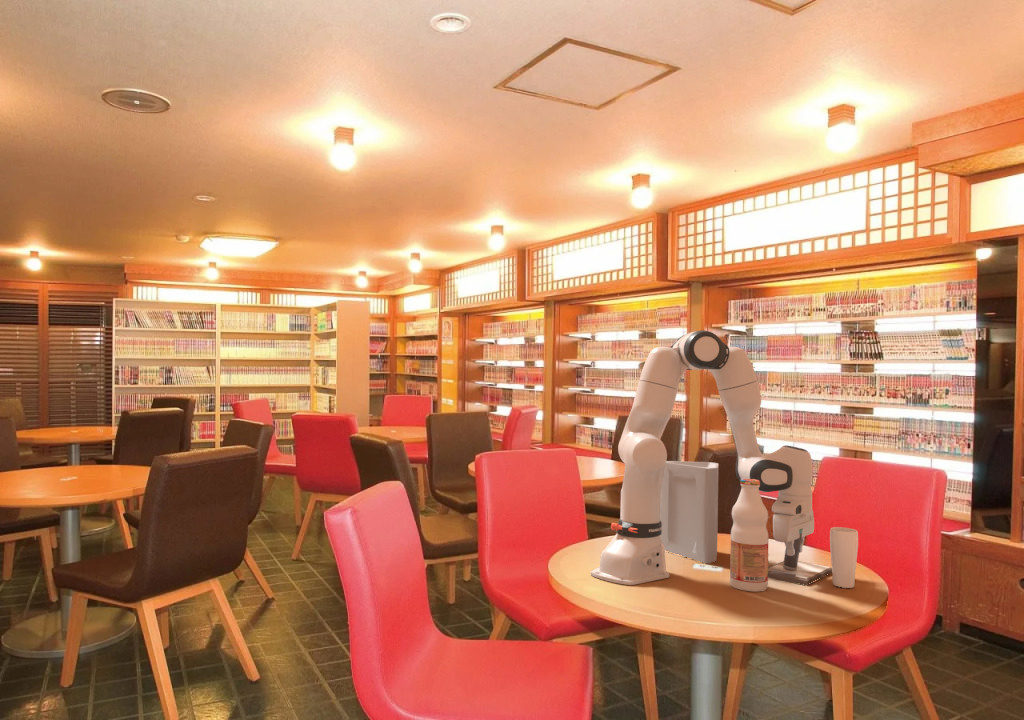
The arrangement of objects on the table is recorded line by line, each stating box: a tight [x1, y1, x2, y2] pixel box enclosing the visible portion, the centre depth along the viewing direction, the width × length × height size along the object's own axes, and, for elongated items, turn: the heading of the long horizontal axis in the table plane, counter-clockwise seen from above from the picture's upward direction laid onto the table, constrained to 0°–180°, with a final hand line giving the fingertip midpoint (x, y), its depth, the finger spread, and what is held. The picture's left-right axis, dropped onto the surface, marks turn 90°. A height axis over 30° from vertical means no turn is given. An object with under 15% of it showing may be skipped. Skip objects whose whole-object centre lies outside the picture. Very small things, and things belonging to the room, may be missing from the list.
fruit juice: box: [729, 479, 769, 593], centre depth 183 cm, size 9×9×28 cm
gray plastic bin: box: [660, 460, 719, 564], centre depth 218 cm, size 19×15×28 cm
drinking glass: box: [829, 526, 859, 589], centre depth 185 cm, size 7×7×15 cm
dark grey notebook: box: [768, 560, 832, 586], centre depth 197 cm, size 20×13×2 cm, turn 136°
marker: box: [783, 528, 803, 571], centre depth 195 cm, size 4×4×12 cm
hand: (794, 553), depth 195 cm, fingers closed on marker, 4 cm apart
